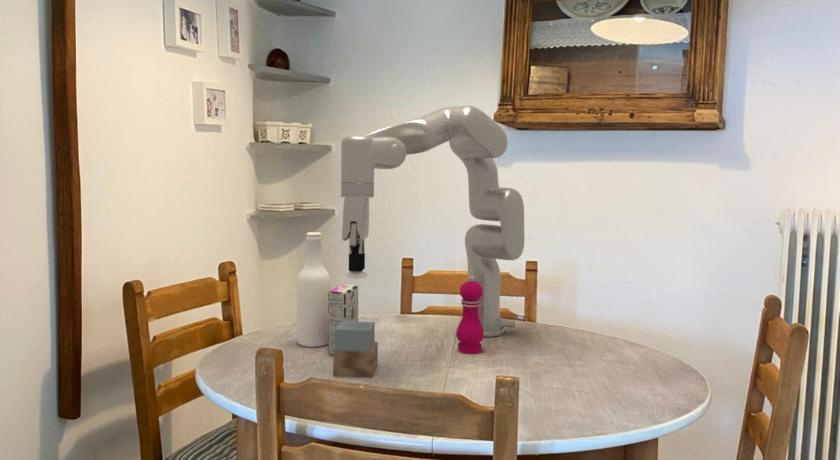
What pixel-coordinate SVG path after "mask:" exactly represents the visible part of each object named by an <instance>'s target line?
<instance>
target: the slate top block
mask: <svg viewBox="0 0 840 460" xmlns="http://www.w3.org/2000/svg"><path fill="white" fill-rule="evenodd" d="M375 326H376V323H375V321H358V322H354V321H341V322H340V324H339V325H338V326H337V327H336V329H335V351H352V352H370V350H371V348H372V347H373V345H374V343H375V342H376V341H375V335H376V333H375V332H376V331H375V329H376V327H375Z"/></svg>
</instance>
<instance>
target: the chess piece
mask: <svg viewBox="0 0 840 460" xmlns="http://www.w3.org/2000/svg"><path fill="white" fill-rule="evenodd" d="M356 240H358V239H356ZM357 244H359V243H357ZM345 278H348V279H354V280H355V279H359V280H360V279H366V278H368V273H367V272H364V271H362V272H350V271H349V272H346V276H345Z"/></svg>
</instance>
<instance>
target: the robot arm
mask: <svg viewBox="0 0 840 460" xmlns="http://www.w3.org/2000/svg"><path fill="white" fill-rule="evenodd" d="M447 142H448V143H449V147H450V149H451V151H452V152H453V154H454V155H456V157H458V159H460V160H461V162H462V163H463V164H464V166H465V168H466V172H467V180H468V182H467V183H468V206H469V213H470V215H471V216H472V217H473V218H474V219H477V220H481V221H487V222H489V221H491V222H500V225H497V224H487V223H480V224H474V225H472V226H471V227H470V228H468V229H467V231H466V233H465V237H464V245H465V247H464V248H465V252H466V258H467V259H466V261H467V278H468V277H469V276H471V275H472V276H474V277H475V281H474V282H477V283H479V284H480V285H481V286H482V289H483V294H482V296H481V297H480V299H479V300H480V301H481V302H480V304H481V305H480V306H479V310H478V313H479V319H480V322H481V325H482V327H483V331H484V338H485V337H487V338H489V337H490V338H491V337H493V338H494V337H498V336H501V335H503V334H504V333H505V328H514V329H515V328H516V321H515V320H511V319H503V318H501V315H500V304H501V303H500V302H501V297H500V296H501V269H500V265H499V263H498V261H497V260H503V261H504V260H505V261H516V260H518V259H519V258H520V257H521V256H522V254H523V252H524V247H525V206H524V205H525V204H524V200H523V197H522V195H521V194H520V192H519V191H518V190H516V189H514V188H511V187H500V186H499V185H500V184H499V172H498V166H497V165H496V162H495V160H494V159H498V158H500V157H501V156H503V155H504V154H505V152H506V151H507V149H508V148H507V147H508V144H509V143H508V137H507V134H506V132H505V131H504V129H503V128H502V127H501V126H500V125H499V124H498V123H497V122H495V120H494V119H493V118H491V117H490V116H489V115H488V114H486V113H485V112H484V111H482V110H481V109H480V108H477V107H475V106H472V105H462V106H461V105H459V106H458V105H457V106H447V107H442V108H439V109H437V110H434V111H432V112H430V113H427V114H425V115H422V116H420V117H417V118H415V119H411V120H408V121H405V122H401V123H398V124H395V125H391V126H387V127H384V128H380V129H377V130H374V131H372V132H369V133H367V134H365V135H349V136H344V137H343V138H342V141H341V145H340V154H341V155H340V197H341V198H344V199H343V209H342V225H341V226H342V228H341V230H342V231H341V240H343V241H344V242H345V241H349V242H348V245H349V246H348V250H349V251H348V271H349V272H364V270H365V267H366V260H365V259H366V253H365V248H366V247H365V242H366V241H365V239H367V238H368V236H369V234H370V233H369V232H370V198H374V197H375V170H376V169H378V170H394V169H396V168H399V167H400V166H401V165H402V164H403V163H404V162H405V160H406V157H407V155H416V154H421V153H426V152H428V151H430V150H432V149H434V148H436V147H438V146H441V145H443V144H445V143H447ZM356 239H358V240H356ZM357 243H359V244H357ZM468 281H469V280H468V279H467V281H466V282H468Z"/></svg>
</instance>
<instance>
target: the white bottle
mask: <svg viewBox="0 0 840 460" xmlns="http://www.w3.org/2000/svg"><path fill="white" fill-rule="evenodd" d="M305 239H306V248H305V258H304V259H305V260H304V265H303V268H302V269H301V270H300V272H299V273H298V275H297V280H296V325H297V326H296V329H297V330H296V332H297V333H296V341H297V343H298V344H299V346H301V347H305V348H320V347H324V346H327V345H329V327H328V326H329V324H328V292H329V291H331V276H330V274H329V272H328V271H327V269H326V268H325V266H324V263H323V252H322V251H323V250H322V233H321V232H318V231H310V232H307V233H306V238H305Z"/></svg>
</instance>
